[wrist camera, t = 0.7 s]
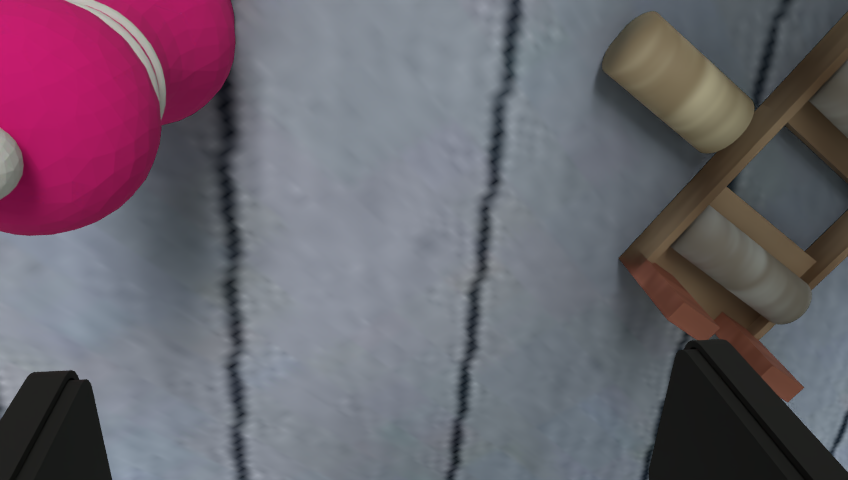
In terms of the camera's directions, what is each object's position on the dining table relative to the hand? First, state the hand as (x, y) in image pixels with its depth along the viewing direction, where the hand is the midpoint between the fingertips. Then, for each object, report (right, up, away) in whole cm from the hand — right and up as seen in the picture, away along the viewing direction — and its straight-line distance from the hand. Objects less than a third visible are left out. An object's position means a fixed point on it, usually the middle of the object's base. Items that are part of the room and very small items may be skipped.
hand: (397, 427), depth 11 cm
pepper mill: (-11, +13, +20) cm, 27 cm away
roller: (+13, +11, +23) cm, 29 cm away
